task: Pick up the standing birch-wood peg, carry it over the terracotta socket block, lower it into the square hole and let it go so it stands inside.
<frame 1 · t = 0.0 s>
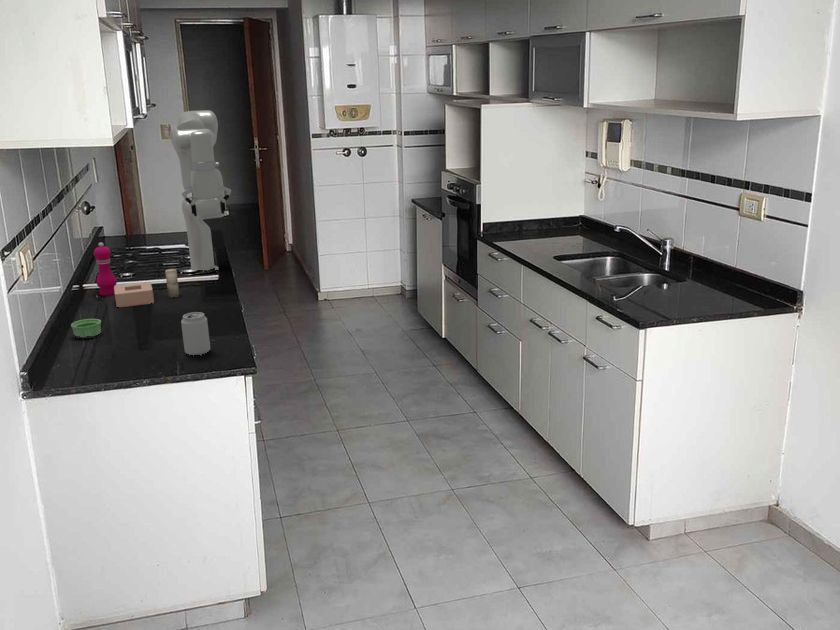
hand: (209, 214, 289), 31 cm above the table, tool pointing down, fingers open, 9 cm apart
pepper mill: (108, 293, 309), on the table
can: (198, 353, 241), on the table
ramekin: (88, 336, 260), on the table
socket: (134, 300, 297), on the table
peg: (173, 296, 302), on the table
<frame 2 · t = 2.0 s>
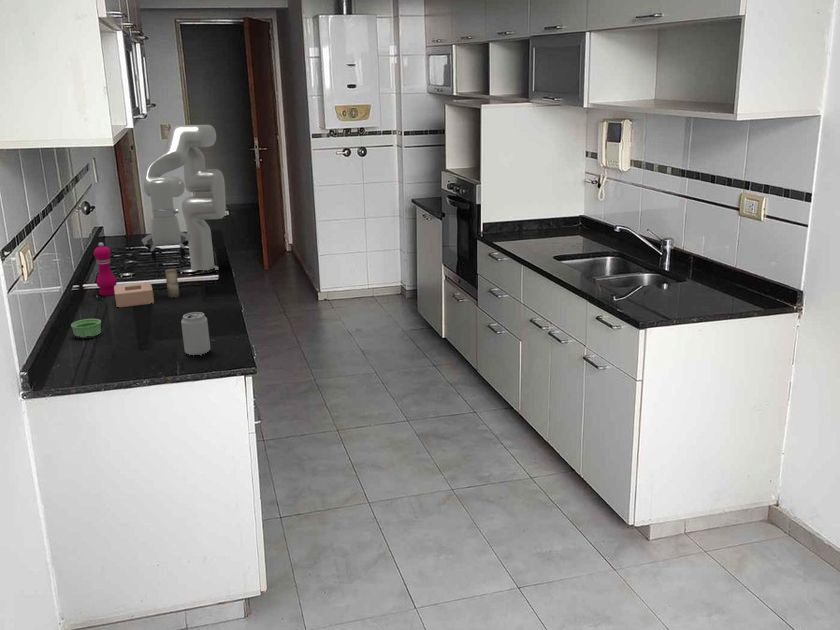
hand: (168, 259, 297), 14 cm above the table, tool pointing down, fingers open, 9 cm apart
nothing on the table moved.
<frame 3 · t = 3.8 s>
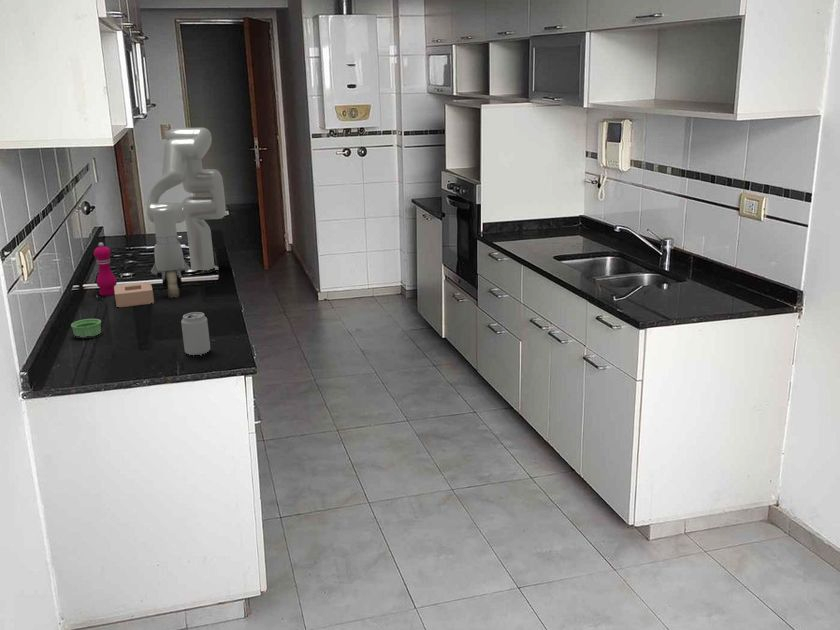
hand: (172, 287, 301), 3 cm above the table, tool pointing down, fingers closed on peg, 4 cm apart
peg: (173, 296, 302), on the table, touching gripper
everything else where it was.
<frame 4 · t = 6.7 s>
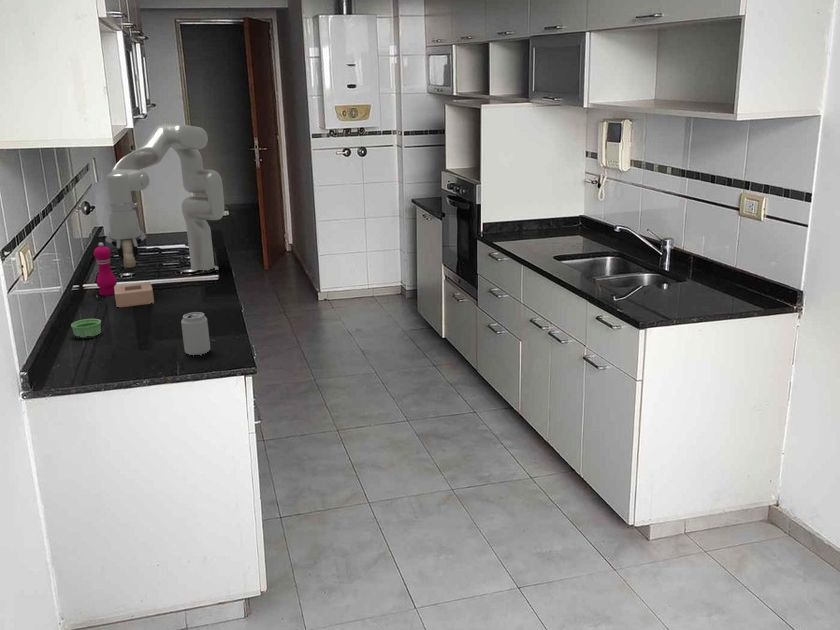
hand: (128, 257, 293), 17 cm above the table, tool pointing down, fingers closed on peg, 4 cm apart
peg: (129, 266, 293), point 13 cm above the table, touching gripper
everything else where it was.
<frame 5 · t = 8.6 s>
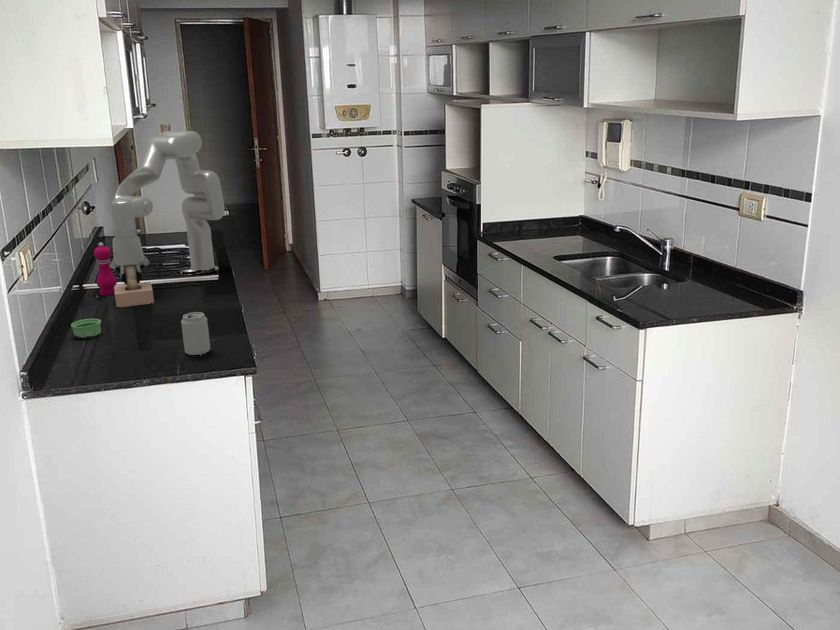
hand: (132, 282, 295), 7 cm above the table, tool pointing down, fingers closed on peg, 4 cm apart
peg: (133, 291, 296), point 4 cm above the table, touching gripper
everything else where it was.
when the fingers open (6 cm above the table, at t = 10.1 s): peg drops 2 cm, resting in socket.
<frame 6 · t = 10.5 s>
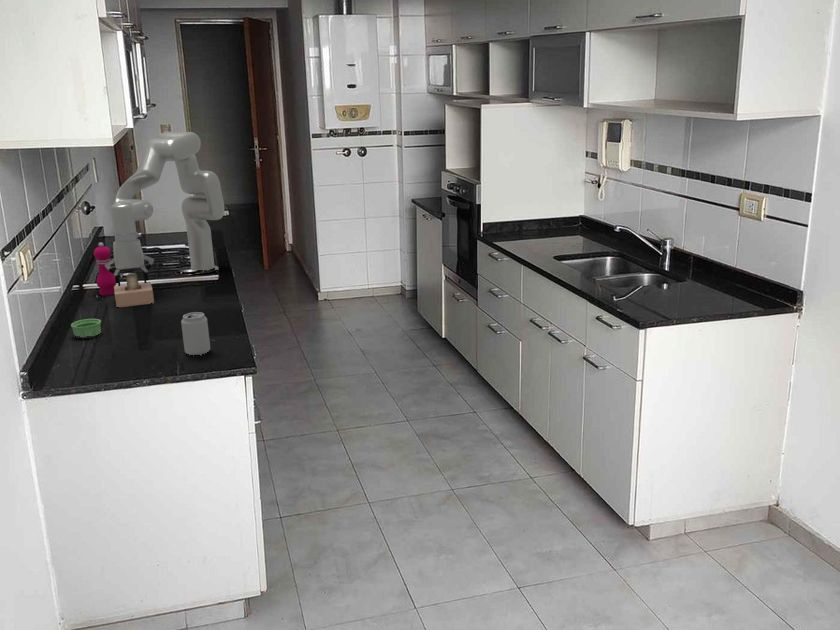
hand: (132, 283, 296), 7 cm above the table, tool pointing down, fingers open, 8 cm apart
peg: (135, 300, 298), resting in socket
everything else where it was.
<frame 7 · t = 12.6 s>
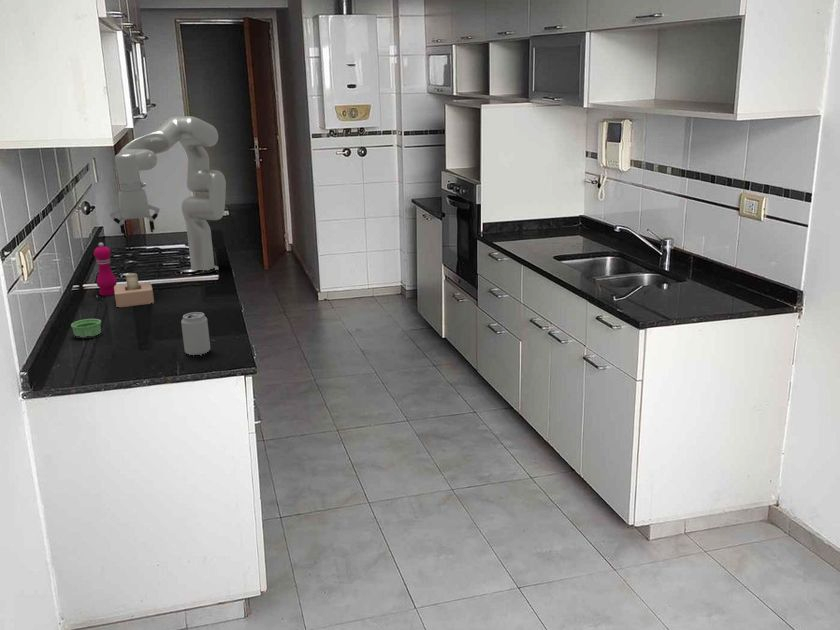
hand: (138, 233, 297), 24 cm above the table, tool pointing down, fingers open, 9 cm apart
nothing on the table moved.
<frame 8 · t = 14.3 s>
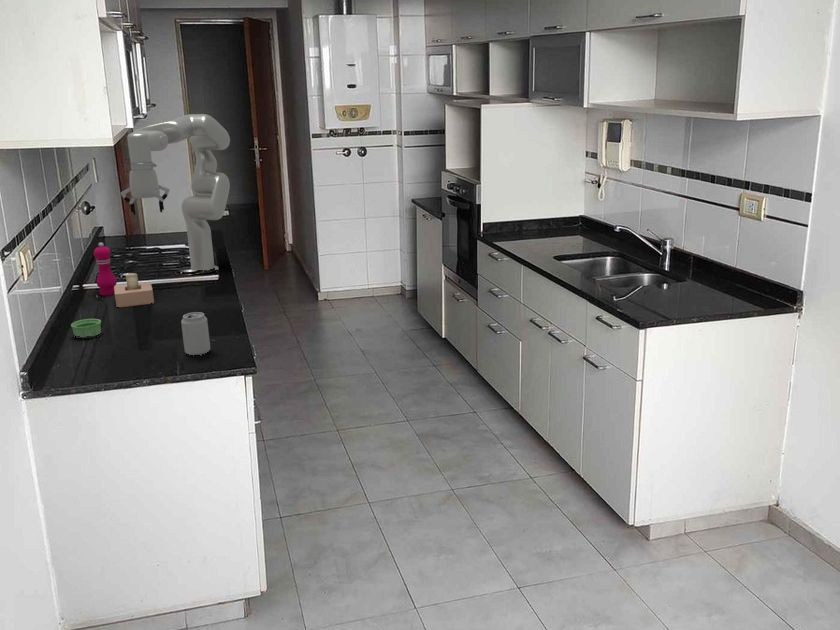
hand: (147, 213, 301), 30 cm above the table, tool pointing down, fingers open, 9 cm apart
nothing on the table moved.
at the end: peg 0.1 cm off-centre on the socket, point 0.0 cm above the socket's base; peg tilted 0°; the gripper is holding nothing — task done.
